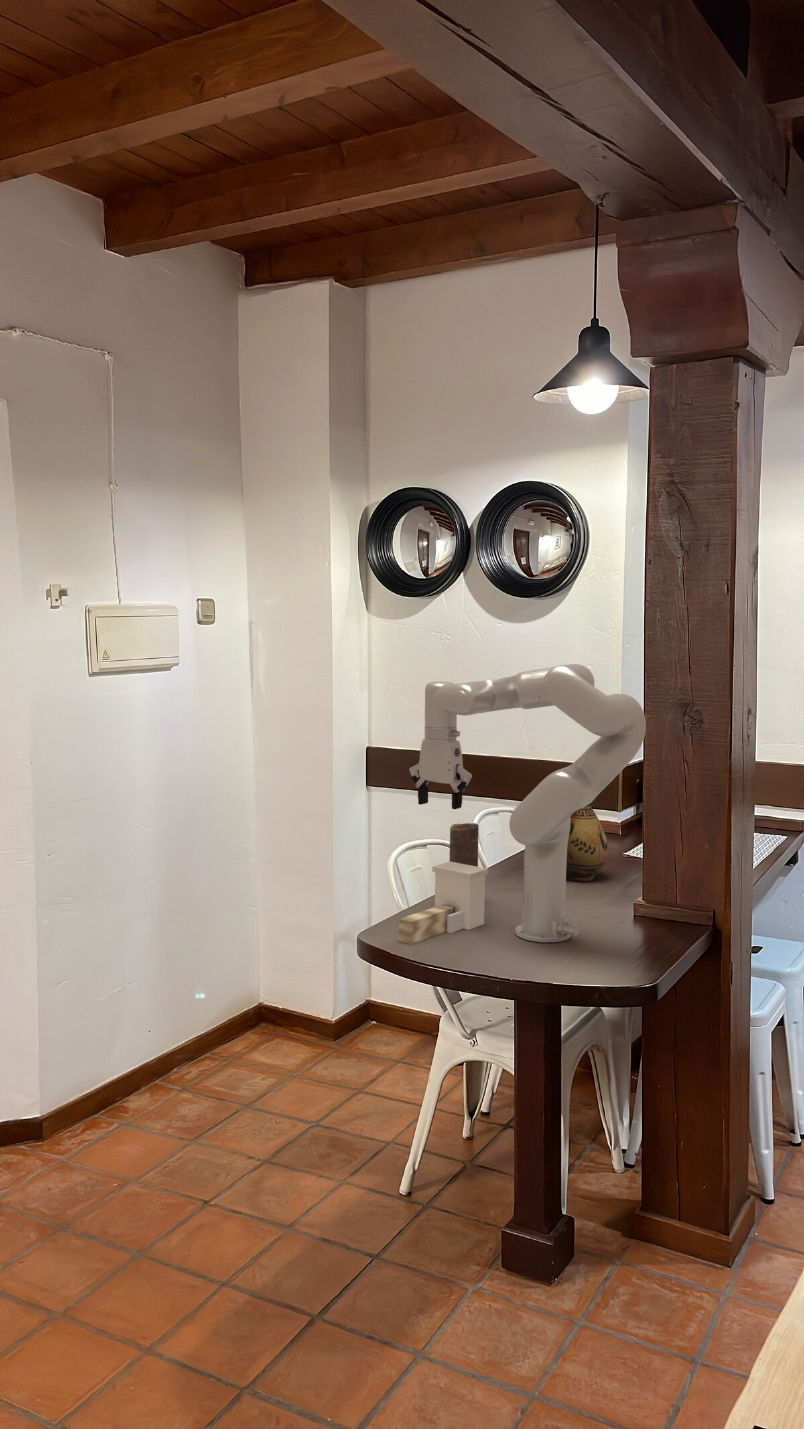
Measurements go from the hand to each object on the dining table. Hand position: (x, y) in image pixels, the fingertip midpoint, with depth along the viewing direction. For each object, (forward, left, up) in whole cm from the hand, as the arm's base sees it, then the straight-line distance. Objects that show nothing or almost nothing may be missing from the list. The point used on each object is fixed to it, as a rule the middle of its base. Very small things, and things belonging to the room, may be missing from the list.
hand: (439, 806), depth 255 cm
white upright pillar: (-7, +4, -27) cm, 28 cm away
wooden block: (-7, +13, -27) cm, 30 cm away
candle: (+3, -15, -27) cm, 31 cm away
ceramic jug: (-5, -57, -27) cm, 64 cm away
